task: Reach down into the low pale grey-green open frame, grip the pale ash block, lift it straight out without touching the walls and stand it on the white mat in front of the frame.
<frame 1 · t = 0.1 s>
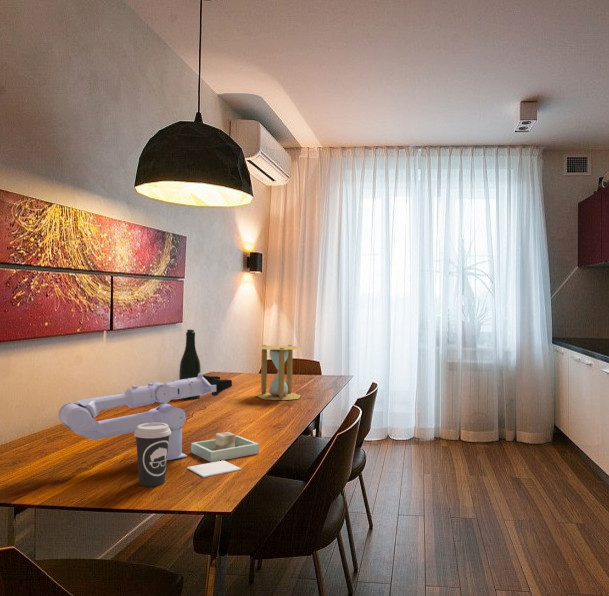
hand: (225, 381, 186), 22 cm above the table, tool horizontal, fingers open, 7 cm apart
dark green wine bottle: (189, 398, 275), on the table
white mat: (214, 469, 163), on the table
hourglass: (278, 397, 282), on the table
pale grey-green open frame: (225, 452, 180), on the table
coffee cup: (152, 483, 150), on the table
ash block: (225, 453, 180), resting in pale grey-green open frame
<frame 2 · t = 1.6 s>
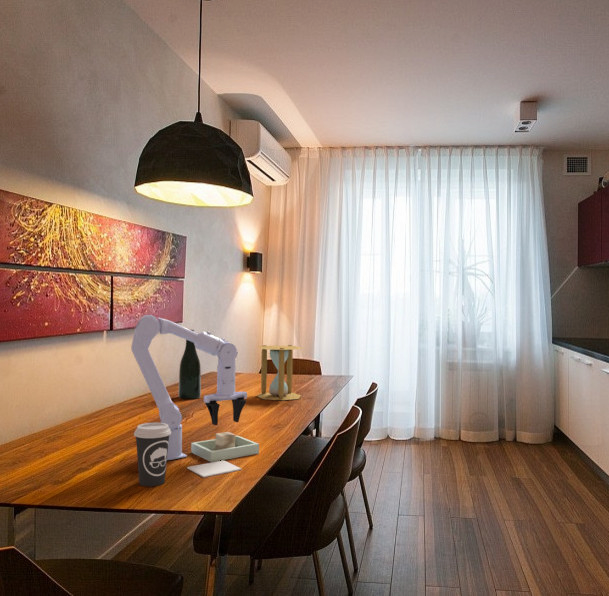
hand: (225, 423, 180), 9 cm above the table, tool pointing down, fingers open, 7 cm apart
nothing on the table moved.
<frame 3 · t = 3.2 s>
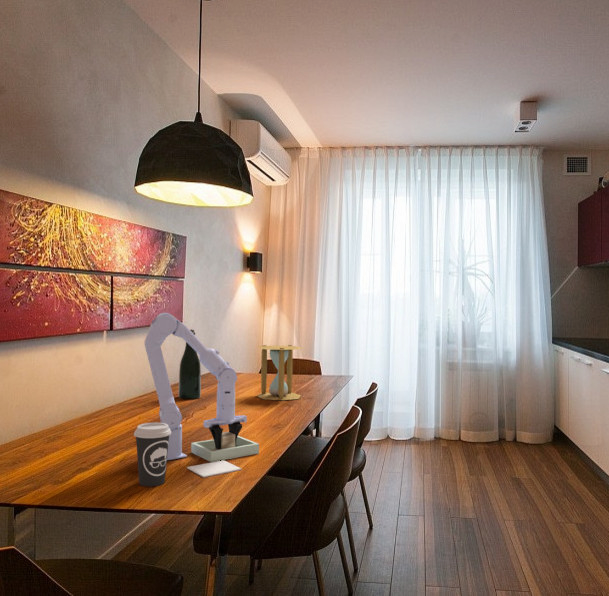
hand: (225, 447, 180), 2 cm above the table, tool pointing down, fingers closed on ash block, 4 cm apart
ash block: (225, 452, 180), resting in pale grey-green open frame, touching gripper
everything else where it was.
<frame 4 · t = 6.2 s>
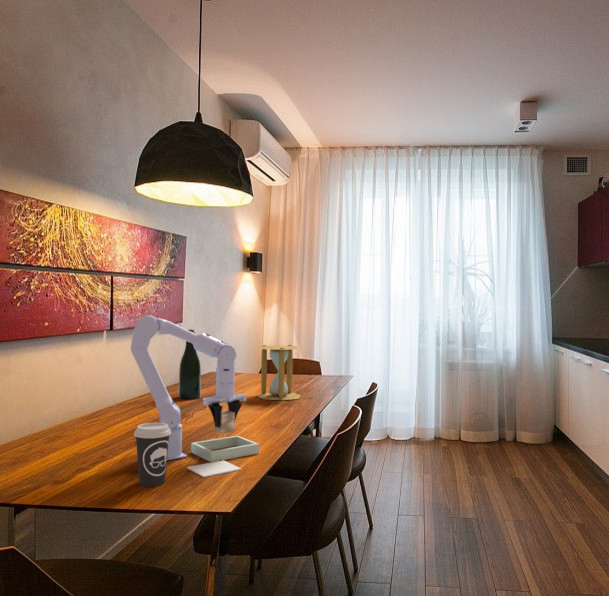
hand: (224, 425, 178), 9 cm above the table, tool pointing down, fingers closed on ash block, 4 cm apart
ash block: (224, 431, 178), point 7 cm above the table, touching gripper
everything else where it was.
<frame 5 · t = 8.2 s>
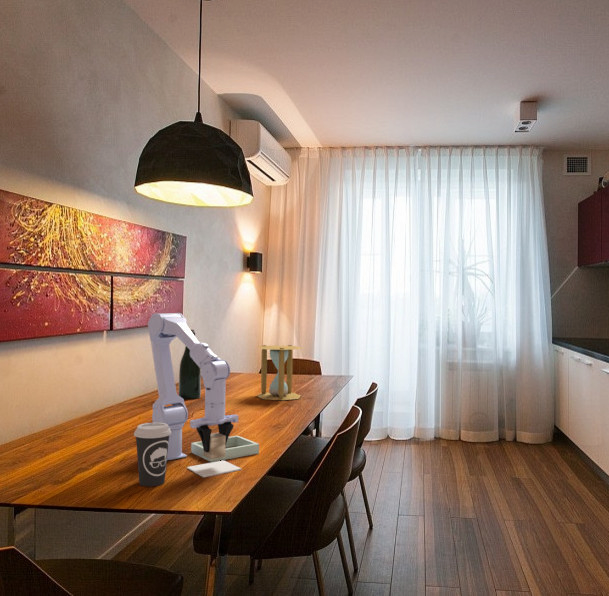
hand: (214, 450, 163), 5 cm above the table, tool pointing down, fingers closed on ash block, 4 cm apart
ash block: (214, 456, 163), point 4 cm above the table, touching gripper
everything else where it was.
when the fingers open (3 cm above the table, at t = 9.6 s): ash block stays where it is, resting on white mat.
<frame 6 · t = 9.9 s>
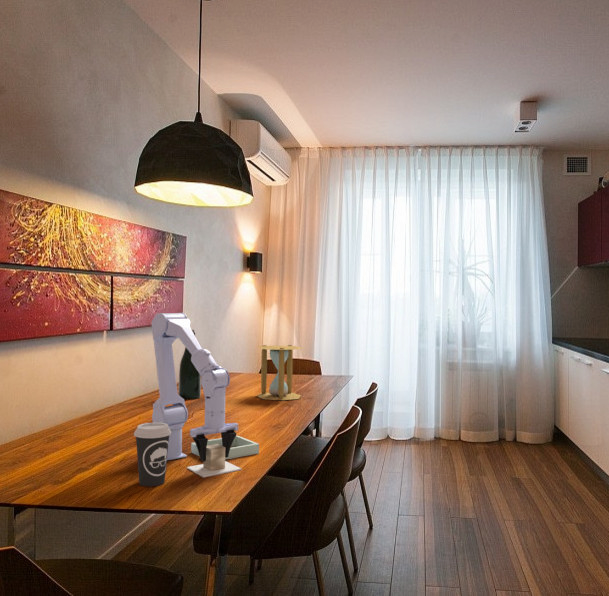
hand: (214, 458, 163), 3 cm above the table, tool pointing down, fingers open, 7 cm apart
ash block: (214, 467, 163), resting on white mat
everything else where it was.
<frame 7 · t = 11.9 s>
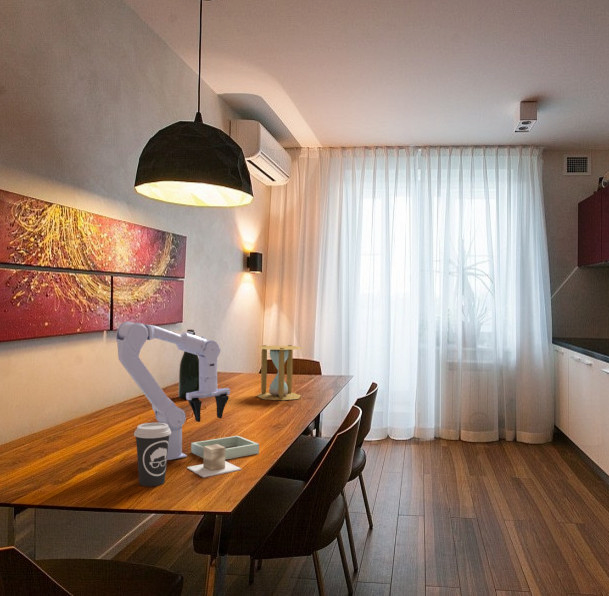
hand: (208, 419, 182), 10 cm above the table, tool pointing down, fingers open, 7 cm apart
nothing on the table moved.
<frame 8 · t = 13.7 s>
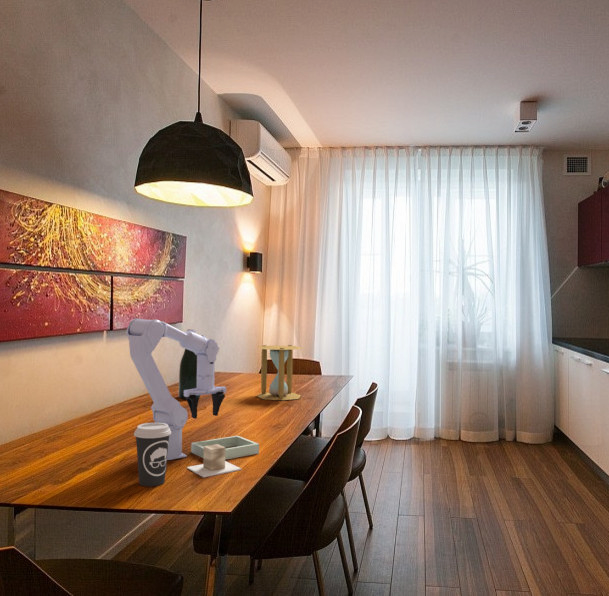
hand: (204, 416, 186), 10 cm above the table, tool pointing down, fingers open, 7 cm apart
nothing on the table moved.
at the end: ash block 0.0 cm off-centre on the white mat, point 0.4 cm above the white mat's base; ash block tilted 0°; the gripper is holding nothing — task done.
